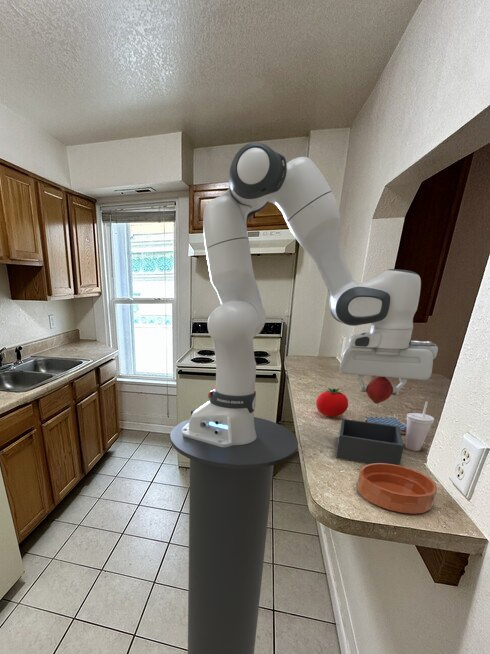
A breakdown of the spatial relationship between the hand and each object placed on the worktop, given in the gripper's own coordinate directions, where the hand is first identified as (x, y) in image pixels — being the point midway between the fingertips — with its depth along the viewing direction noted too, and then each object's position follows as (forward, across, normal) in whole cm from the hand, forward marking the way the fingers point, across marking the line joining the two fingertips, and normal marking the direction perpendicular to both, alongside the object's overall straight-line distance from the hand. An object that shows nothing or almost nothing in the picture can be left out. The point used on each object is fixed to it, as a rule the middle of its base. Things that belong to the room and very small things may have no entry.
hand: (378, 392), depth 93 cm
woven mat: (+18, -6, -23) cm, 30 cm away
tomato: (+18, +11, -28) cm, 35 cm away
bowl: (+18, -5, +22) cm, 28 cm away
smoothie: (+18, -12, -9) cm, 23 cm away
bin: (+18, 0, 0) cm, 18 cm away
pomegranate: (+3, 0, 0) cm, 3 cm away
